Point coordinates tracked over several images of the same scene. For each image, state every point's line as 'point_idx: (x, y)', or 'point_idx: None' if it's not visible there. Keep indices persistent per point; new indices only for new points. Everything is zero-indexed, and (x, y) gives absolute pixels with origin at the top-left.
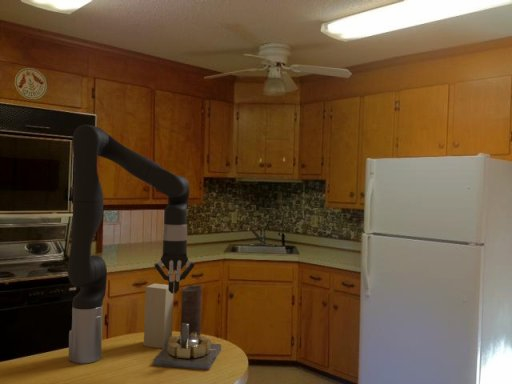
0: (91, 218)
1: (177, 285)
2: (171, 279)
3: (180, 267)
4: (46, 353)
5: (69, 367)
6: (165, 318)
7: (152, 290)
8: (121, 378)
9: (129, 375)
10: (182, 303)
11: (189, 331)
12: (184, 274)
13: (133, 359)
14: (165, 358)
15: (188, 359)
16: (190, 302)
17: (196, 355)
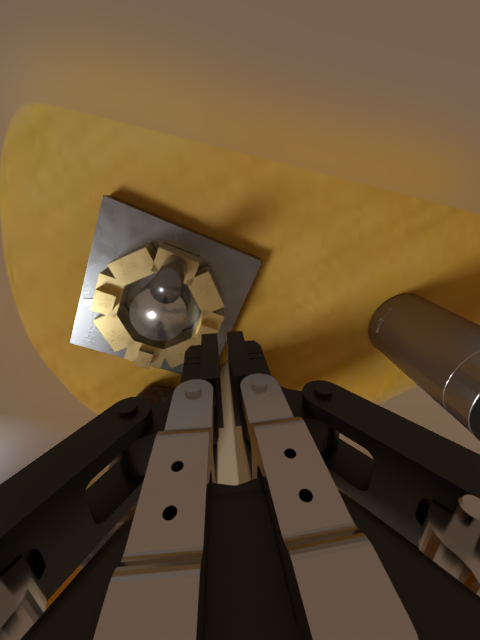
0: None
1: (196, 368)
2: (258, 385)
3: (138, 521)
4: None
5: (439, 279)
6: (229, 414)
7: None
8: (344, 186)
9: (323, 202)
10: None
11: (158, 402)
12: (105, 440)
13: (302, 304)
14: (231, 260)
15: (167, 242)
16: None
17: (141, 247)
